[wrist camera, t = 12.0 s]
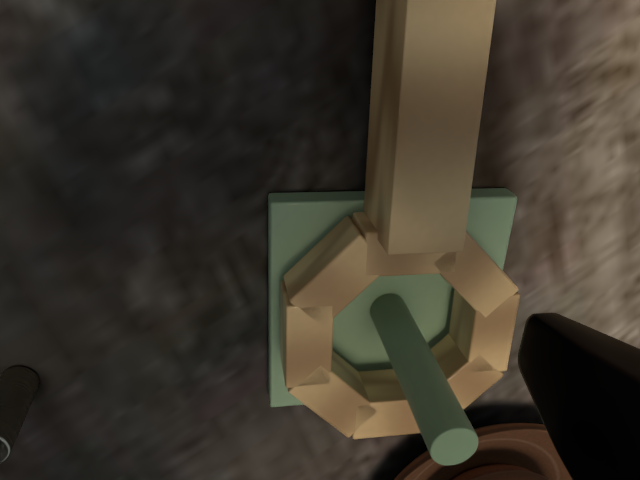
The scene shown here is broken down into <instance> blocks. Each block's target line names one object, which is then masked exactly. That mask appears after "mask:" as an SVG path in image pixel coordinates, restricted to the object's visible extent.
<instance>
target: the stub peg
mask: <svg viewBox="0 0 640 480" xmlns="http://www.w3.org/2000/svg"><path fill="white" fill-rule="evenodd" d="M38 387H39V378H38V376H37V374H36V373H35V372H34V371H32V370H31V369H29V368H26V367H20V366H17V367H11V368H9V369H7V370H5V371H4V372H3V373H2V374H1V376H0V463H1V462H3V461H4V460H5V459H7V458H8V456H9V455H10V453H11V450H12V448H13V446H14V443H15V441H16V439H17V436H18V434H19V432H20V429H21V427H22V424H23V422H24V420H25V417H26V415H27V413H28V410H29V408H30V406H31V403H32V401H33V399H34V396H35V394H36V392H37V389H38Z"/></svg>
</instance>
